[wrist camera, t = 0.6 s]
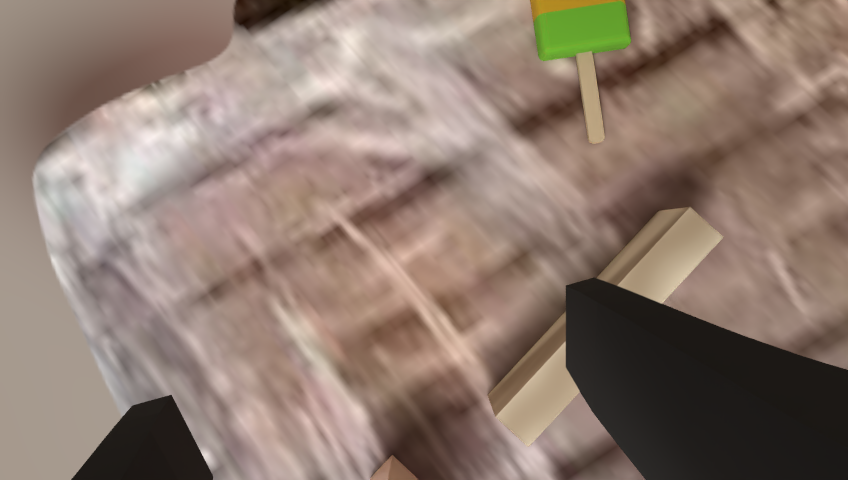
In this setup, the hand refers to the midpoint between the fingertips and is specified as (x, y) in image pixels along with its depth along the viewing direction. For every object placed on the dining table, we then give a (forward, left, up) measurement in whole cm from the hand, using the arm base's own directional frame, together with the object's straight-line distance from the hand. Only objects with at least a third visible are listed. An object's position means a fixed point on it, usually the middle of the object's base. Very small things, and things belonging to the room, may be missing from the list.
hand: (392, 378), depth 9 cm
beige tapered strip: (-9, -6, -22) cm, 25 cm away
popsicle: (+4, -19, -23) cm, 30 cm away
